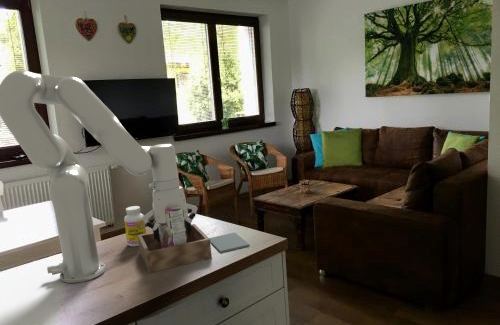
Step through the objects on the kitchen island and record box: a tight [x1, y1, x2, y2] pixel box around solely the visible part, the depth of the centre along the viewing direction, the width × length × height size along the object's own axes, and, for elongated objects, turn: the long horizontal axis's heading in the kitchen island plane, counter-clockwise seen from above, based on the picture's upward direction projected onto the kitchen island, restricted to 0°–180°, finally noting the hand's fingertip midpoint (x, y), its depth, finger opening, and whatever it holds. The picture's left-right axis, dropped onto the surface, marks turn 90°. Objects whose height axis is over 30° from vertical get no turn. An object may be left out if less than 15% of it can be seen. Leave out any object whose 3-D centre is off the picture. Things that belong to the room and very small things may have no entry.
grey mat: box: [208, 232, 250, 254], centre depth 138 cm, size 10×13×1 cm
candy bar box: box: [158, 206, 187, 249], centre depth 130 cm, size 11×5×16 cm, turn 34°
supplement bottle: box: [124, 205, 147, 247], centre depth 143 cm, size 7×7×13 cm
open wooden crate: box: [138, 223, 212, 274], centre depth 131 cm, size 19×17×6 cm
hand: (173, 237), depth 130 cm, fingers open, 9 cm apart
